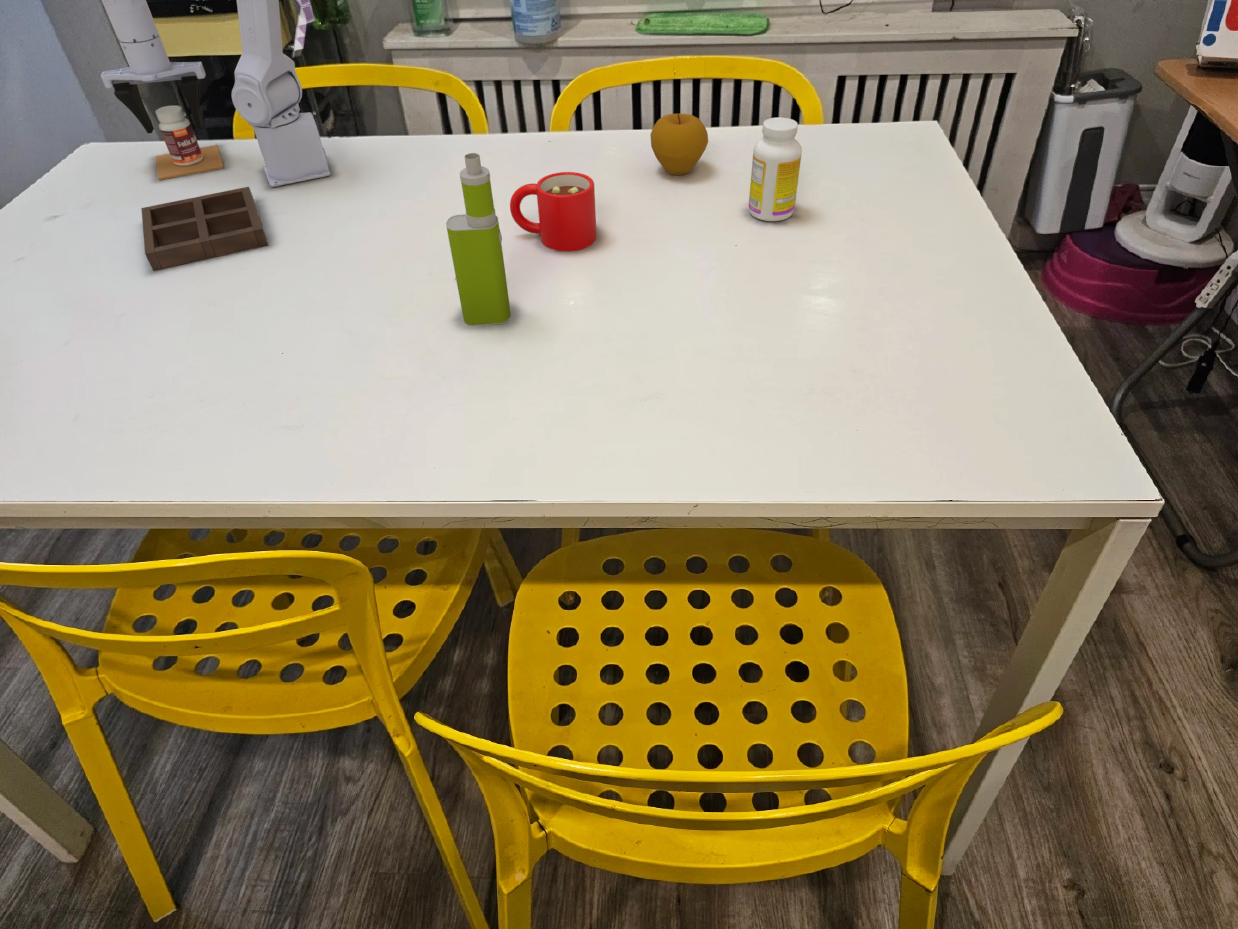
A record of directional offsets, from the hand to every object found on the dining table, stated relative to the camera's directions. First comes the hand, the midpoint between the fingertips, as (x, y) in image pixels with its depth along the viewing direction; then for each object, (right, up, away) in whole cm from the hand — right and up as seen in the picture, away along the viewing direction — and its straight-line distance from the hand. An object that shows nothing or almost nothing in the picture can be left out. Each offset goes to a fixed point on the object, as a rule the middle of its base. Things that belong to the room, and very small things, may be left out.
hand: (175, 128), depth 130 cm
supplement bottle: (+95, -18, -13) cm, 98 cm away
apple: (+82, -8, -2) cm, 83 cm away
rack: (+13, -22, -15) cm, 29 cm away
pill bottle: (0, -4, +4) cm, 6 cm away
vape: (+56, -37, -32) cm, 75 cm away
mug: (+64, -23, -17) cm, 70 cm away
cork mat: (0, -4, +4) cm, 6 cm away
